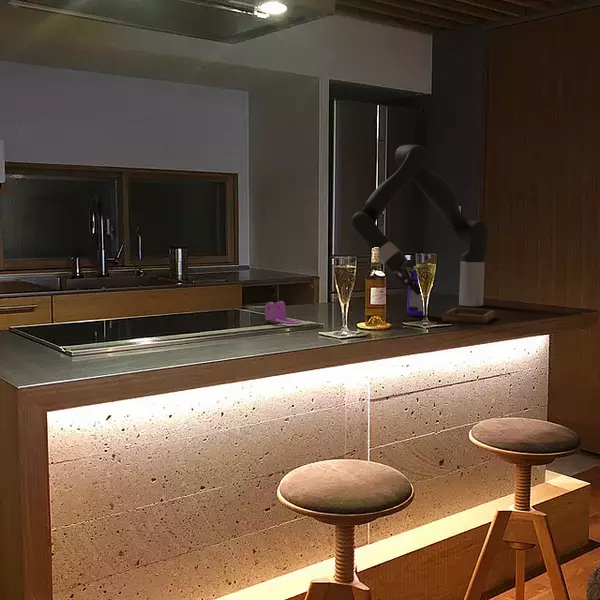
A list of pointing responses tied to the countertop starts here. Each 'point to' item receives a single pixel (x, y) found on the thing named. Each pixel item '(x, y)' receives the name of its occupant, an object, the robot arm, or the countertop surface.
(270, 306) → the bracket
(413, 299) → the bottle
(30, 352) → the countertop surface
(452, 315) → the walnut tray
